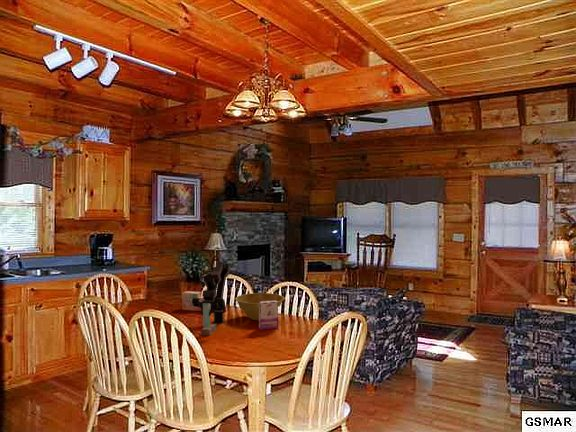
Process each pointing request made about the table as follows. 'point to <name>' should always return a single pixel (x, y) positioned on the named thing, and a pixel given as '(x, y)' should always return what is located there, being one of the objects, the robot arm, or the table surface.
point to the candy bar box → (268, 315)
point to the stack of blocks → (188, 298)
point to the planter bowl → (256, 302)
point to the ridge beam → (209, 329)
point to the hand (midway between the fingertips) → (205, 315)
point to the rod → (206, 314)
